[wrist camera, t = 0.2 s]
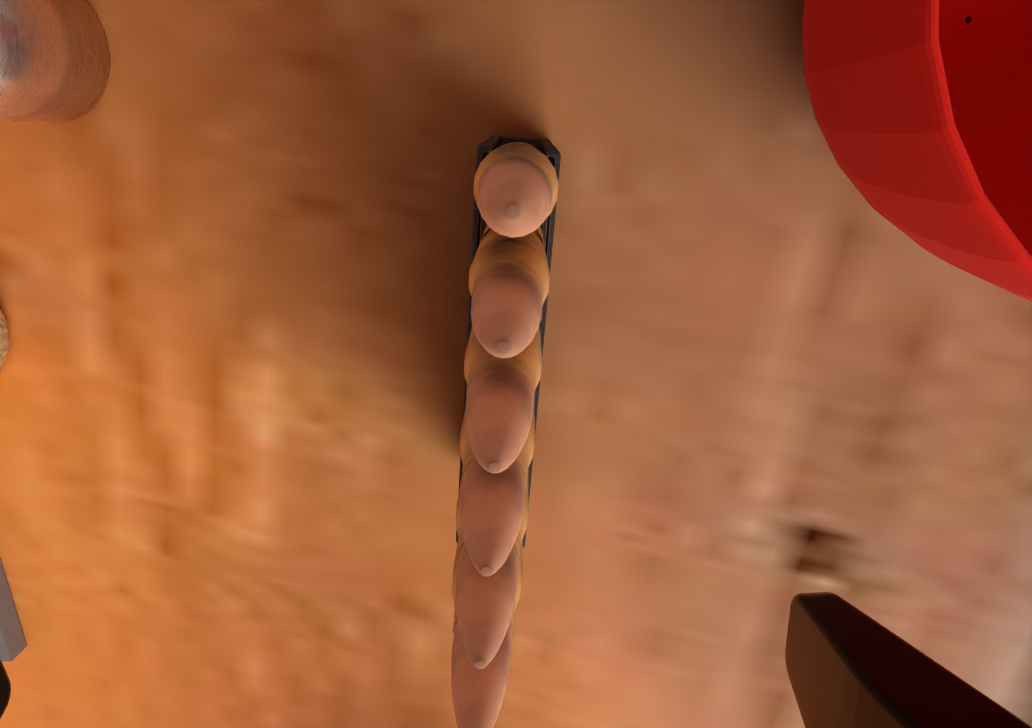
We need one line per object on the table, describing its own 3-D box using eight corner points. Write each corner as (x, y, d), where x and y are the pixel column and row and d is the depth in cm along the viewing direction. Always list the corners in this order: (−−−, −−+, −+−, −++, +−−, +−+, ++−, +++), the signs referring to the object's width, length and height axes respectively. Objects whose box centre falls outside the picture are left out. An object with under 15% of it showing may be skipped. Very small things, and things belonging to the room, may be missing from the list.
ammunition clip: (523, 469, 23) (524, 796, 11) (469, 465, 23) (416, 789, 11) (552, 140, 19) (594, 137, 8) (488, 135, 19) (441, 124, 8)
